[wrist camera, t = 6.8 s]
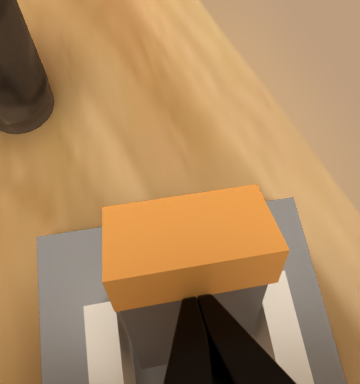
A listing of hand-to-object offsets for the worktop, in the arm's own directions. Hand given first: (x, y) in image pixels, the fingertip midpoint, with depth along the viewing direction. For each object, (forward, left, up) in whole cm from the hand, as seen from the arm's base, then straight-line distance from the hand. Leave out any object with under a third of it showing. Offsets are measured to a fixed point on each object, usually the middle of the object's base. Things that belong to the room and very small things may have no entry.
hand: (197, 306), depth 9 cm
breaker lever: (-1, -1, -6) cm, 6 cm away
